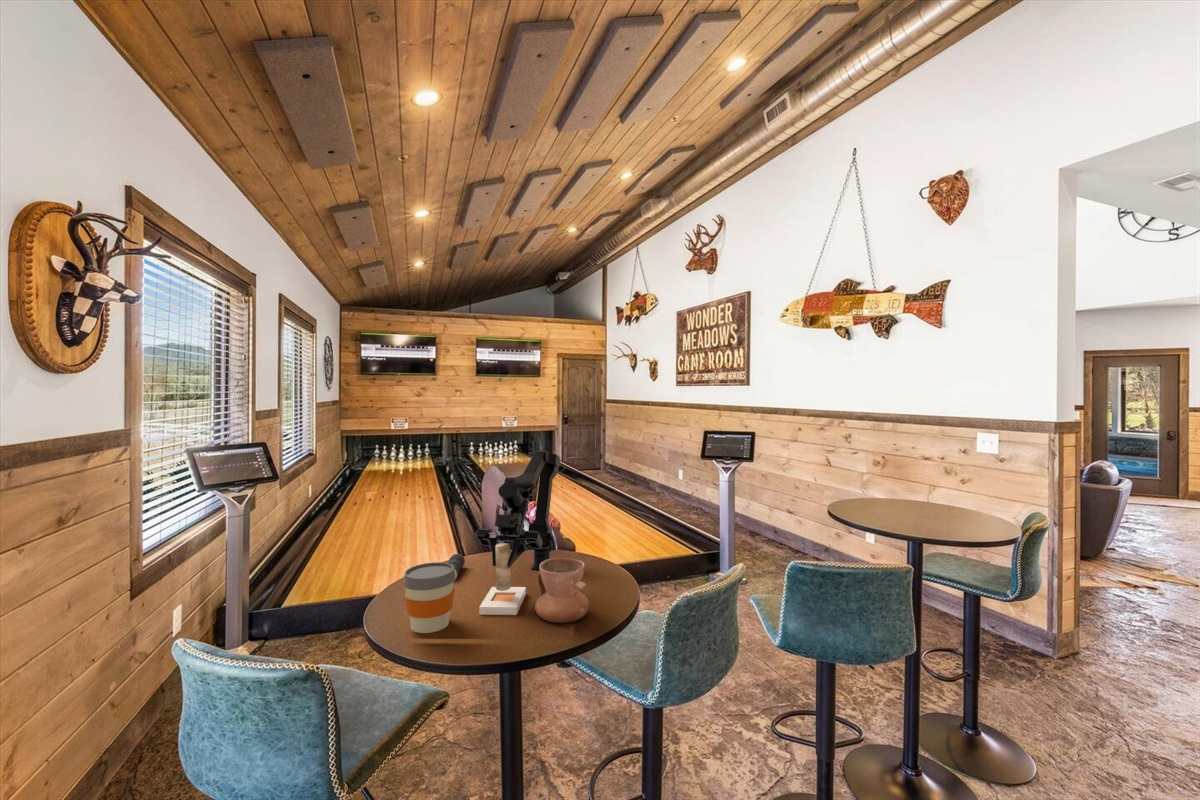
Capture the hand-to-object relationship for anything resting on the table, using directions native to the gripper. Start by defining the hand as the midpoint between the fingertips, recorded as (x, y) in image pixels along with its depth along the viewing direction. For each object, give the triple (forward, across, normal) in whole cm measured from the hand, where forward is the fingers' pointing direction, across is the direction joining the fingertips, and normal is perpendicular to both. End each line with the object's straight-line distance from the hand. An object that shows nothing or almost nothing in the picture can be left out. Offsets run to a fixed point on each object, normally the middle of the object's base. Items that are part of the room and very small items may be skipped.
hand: (501, 566), depth 142 cm
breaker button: (+7, 0, +9) cm, 11 cm away
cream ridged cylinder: (+4, 0, +6) cm, 7 cm away
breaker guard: (+8, 0, +9) cm, 12 cm away
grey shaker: (-7, -26, +24) cm, 36 cm away
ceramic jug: (+9, +17, +8) cm, 21 cm away
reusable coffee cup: (+19, -13, -2) cm, 23 cm away
